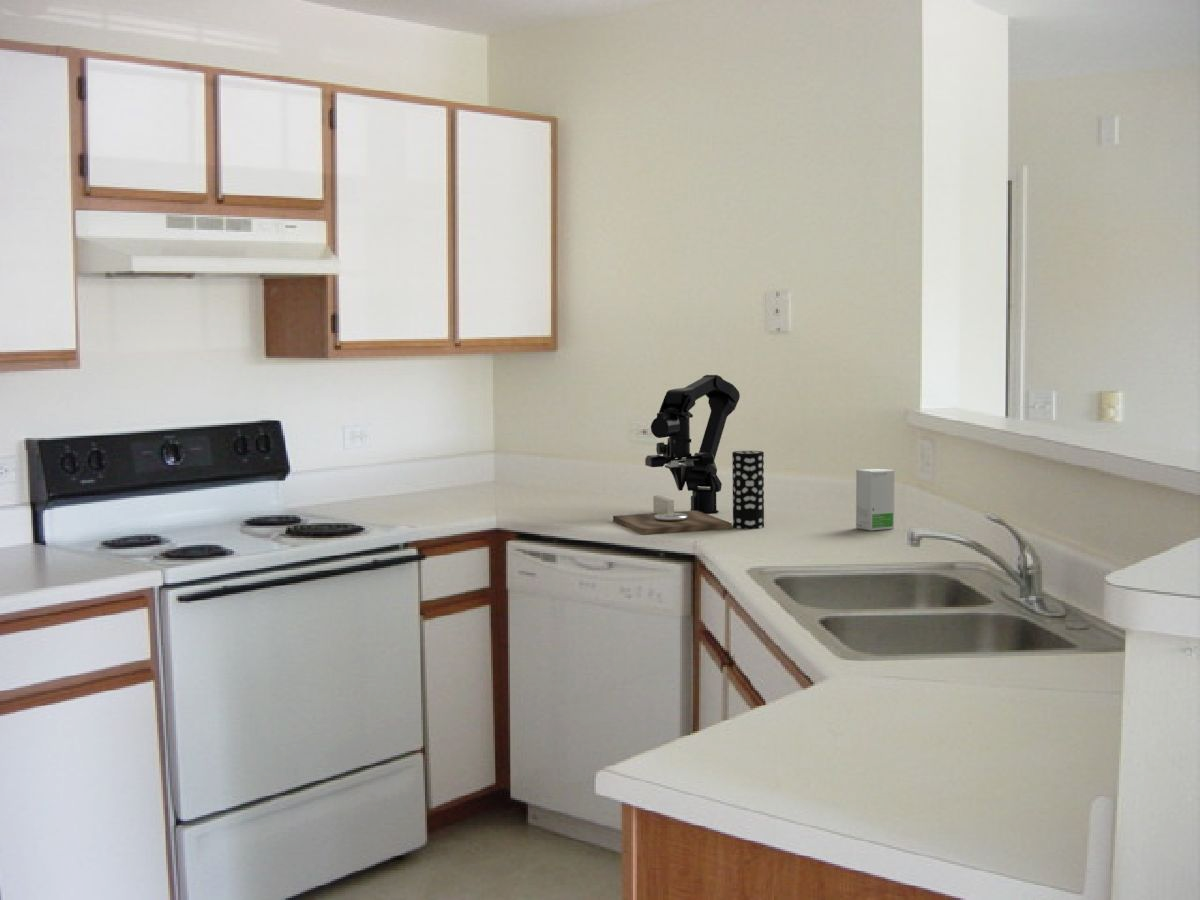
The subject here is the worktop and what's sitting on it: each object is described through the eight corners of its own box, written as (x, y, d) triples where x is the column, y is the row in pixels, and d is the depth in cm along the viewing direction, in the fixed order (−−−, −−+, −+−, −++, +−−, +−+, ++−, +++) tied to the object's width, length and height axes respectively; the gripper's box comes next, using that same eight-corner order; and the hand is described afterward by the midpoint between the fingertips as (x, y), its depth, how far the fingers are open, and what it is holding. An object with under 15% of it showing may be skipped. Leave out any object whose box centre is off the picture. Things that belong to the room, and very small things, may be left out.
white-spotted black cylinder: (746, 523, 357) (745, 450, 355) (770, 526, 351) (770, 451, 349) (726, 526, 351) (725, 452, 349) (750, 530, 346) (750, 454, 344)
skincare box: (870, 531, 340) (870, 471, 338) (854, 528, 346) (854, 469, 344) (895, 528, 344) (895, 469, 342) (879, 525, 350) (879, 467, 348)
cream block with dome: (692, 519, 353) (692, 501, 353) (661, 521, 351) (660, 503, 350) (671, 511, 369) (671, 494, 368) (641, 513, 366) (641, 496, 365)
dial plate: (697, 515, 372) (696, 510, 372) (731, 528, 348) (731, 522, 348) (613, 521, 365) (613, 515, 365) (642, 534, 341) (642, 528, 341)
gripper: (699, 431, 376) (700, 485, 378) (638, 434, 371) (639, 488, 372) (714, 434, 365) (715, 489, 367) (651, 437, 360) (652, 493, 362)
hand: (680, 490), depth 367 cm, fingers closed
